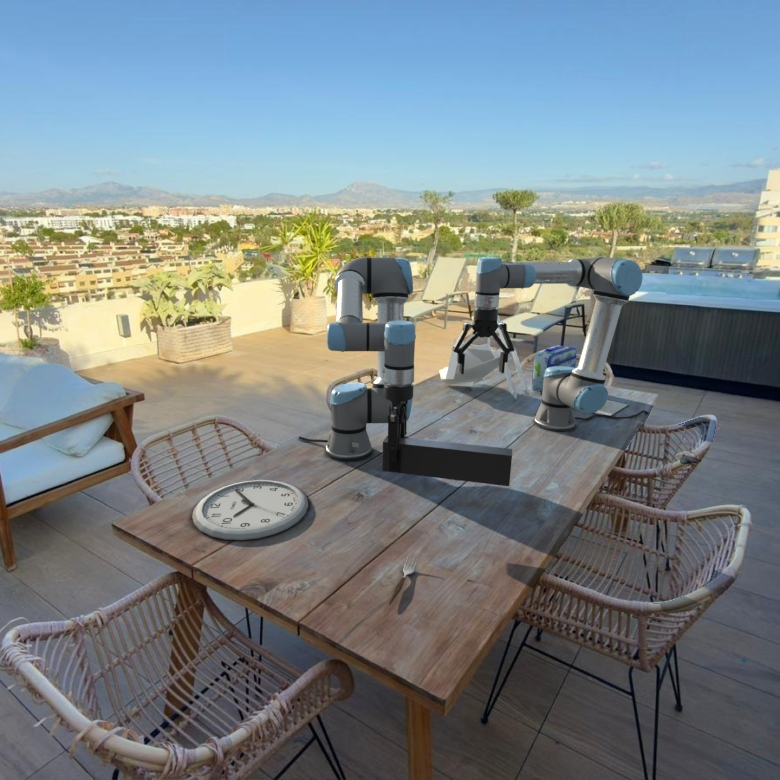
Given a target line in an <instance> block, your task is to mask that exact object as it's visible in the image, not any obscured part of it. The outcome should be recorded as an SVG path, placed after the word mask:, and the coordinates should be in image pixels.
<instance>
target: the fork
mask: <svg viewBox="0 0 780 780" xmlns="http://www.w3.org/2000/svg"><path fill="white" fill-rule="evenodd" d="M415 556H416V555H414V556H413V554H411V555H410V554H408V555H407V558H406V560H405V563H404V565H403V568H402V572H403V576H402V578H401V579H400V581H398V583H397V584H396V586H395V588H394V591H393V593H392V596H391V598H390V600H389V603H388V605H389V606H391V605H392V603H393V602H394V600H395V599H396V597H397V596H398V594H399V593H400V592H401V590H402V588H403V585H404V583H405V580H406V577H407V576H409V575H411V574H413V573H415V571H416V567H417V562H418V559H419V556H416V557H415ZM409 557H410V558H409ZM412 557H413V560H412ZM415 558H416V559H415ZM411 561H412V562H411ZM414 562H415V563H414Z"/></svg>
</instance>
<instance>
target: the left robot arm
mask: <svg viewBox="0 0 780 780" xmlns="http://www.w3.org/2000/svg"><path fill="white" fill-rule="evenodd" d="M413 281H414V280H413V272H412V266H411V263H410V261H409V260H408V259H407V258H405V257H396V256H392V257H391V256H389V257H388V256H386V257H385V256H383V257H382V256H380V257H379V256H377V257H376V256H373V257H372V256H361V257H357V258H354V259H352V260H349V261H348V262H347V263H345V264H344V265H343V266H342V267H341V268H340V269H339V270H338V272H337V273H336V276H335V279H334V289H335V293H337V296H336V311H335V322H330V323H328V324H327V326H326V327H327V328H326V339H327V341H326V344H327V345H326V346H327V349H328V350H329V351H331V352H341V353H344V352H377V377H376V378H375V380H374V381H373V382H372V388H371V387H370V388H369V387H367V384H366V383H364V382H359V381H357V382H356V381H355V382H353V381H351V382H345V383H343V384H339V385H337V386H335V387H334V388H333V389H332V390H331V393H330V403H329V404H330V409H331V410H330V423H331V424H330V426H331V429H330V430H331V431H330V433H329V435H328V439H317V438H314V439H313V438H307V437H304V436H298V439H299V440H302V441H305V442H309V443H326V446H325V450H326V451H325V452H326V455H327V456H329V457H330V458H332V459H335V460H337V461H347V462H348V461H349V462H351V461H359V460H362V459H366V458H367V457H369V456H370V455H371V454H372V449H373V448H372V443H371V441H370V437H369V435H368V431H367V424H387V436H388V446H387V447H386V448H387V449H388V450H390V461H389V471H392V472H391V473H393V472H400V451H401V448H400V437H403V438H409V436H407V434H408V433H407V427H408V426H407V425H408V424H407V422H408V421H409V419H410V416H411V411H412V406H413V398H414V384H413V383H414V381H415V350H416V349H415V348H416V347H415V346H416V338H417V336H416V325H415V324H414V323H413V322H411V321H408V320H405V319H404V317H405V313H404V312H405V309H404V308H405V304H406V303H407V302H408V301H409V296H410V295H412V294H413V293H414V286H413V285H414V282H413ZM363 294H367V295H370V294H371V295H372V300H373V302H375V303H376V305H377V322H364V314H363V313H364V311H363V310H364V309H363Z"/></svg>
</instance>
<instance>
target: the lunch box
mask: <svg viewBox="0 0 780 780" xmlns="http://www.w3.org/2000/svg"><path fill="white" fill-rule="evenodd" d="M576 362H577V348H576V347H571V346H565V345H553V346H550V347H546V348H545V349H542V350H539V351H538V352H537V353H536V354H535V356H534V358H533V365H532V376H531V377H532V378H531V390H532V391H533V392H537V393H542V391H543V381H544V374H545V370H546V369H547V368H549V367H556V366H565V367H574V368H576V364H577V363H576Z"/></svg>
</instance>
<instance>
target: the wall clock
mask: <svg viewBox="0 0 780 780" xmlns="http://www.w3.org/2000/svg"><path fill="white" fill-rule="evenodd" d="M308 509H309V502H308V498H307V496H306V494H305V493H304V492H303V491H302V490H300V489H299V488H297V487H296V486H294V485H292V484H289V483H286V482H284V481H283V482H282V481H276V480H268V479H267V480H266V479H257V480H245V481H240V482H236V483H231V484H229V485H226V486H223V487H220V488H218V489H216V490H214V491H212V492H210V493H209V494H207V495H205V497H203V498H202V499H201V500H200V501H198V503H197V504H196V506H195V507H194V508H193V512H192V516H191V517H192V521H193V524H194V526H195V527H196V528H197V530H199V531H200V532H201V533H203V534H206V535H207V536H210V537H212V538H216V539H222V540H226V541H227V540H229V541H245V540H246V541H247V540H256V539H261V538H265V537H266V538H267V537H271V536H274V535H276V534H278V533H281V532H283V531H286V530H288V529H289V528H291V527H293V526H295V525H296V524H297V523H299V522H300V521H301V520H302V518H304V516H305V515H306V513H307V511H308Z"/></svg>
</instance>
